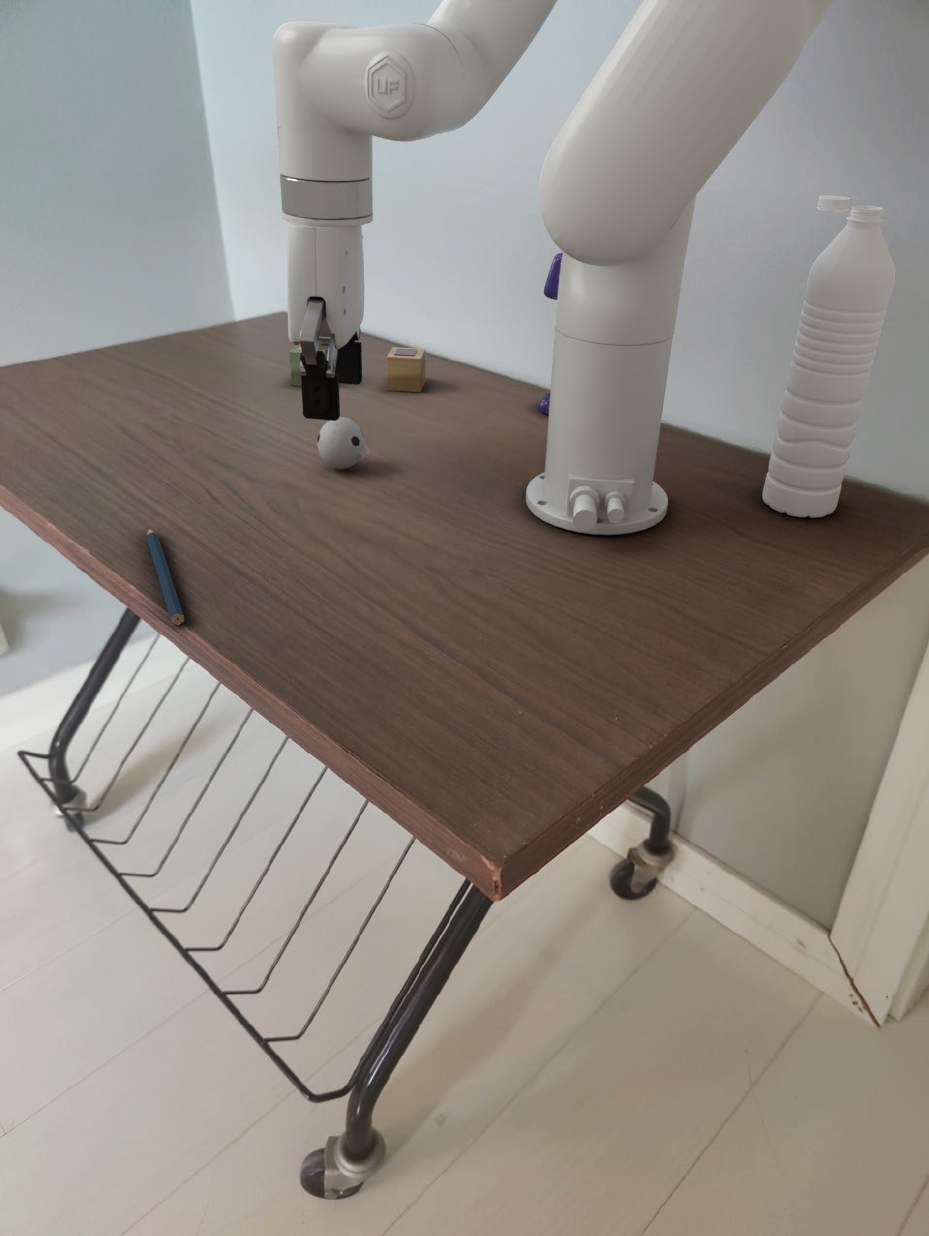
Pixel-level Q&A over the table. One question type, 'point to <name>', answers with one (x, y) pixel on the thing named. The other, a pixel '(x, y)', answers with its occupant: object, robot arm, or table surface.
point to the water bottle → (830, 364)
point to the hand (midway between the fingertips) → (334, 399)
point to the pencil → (165, 579)
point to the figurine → (341, 443)
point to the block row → (401, 368)
